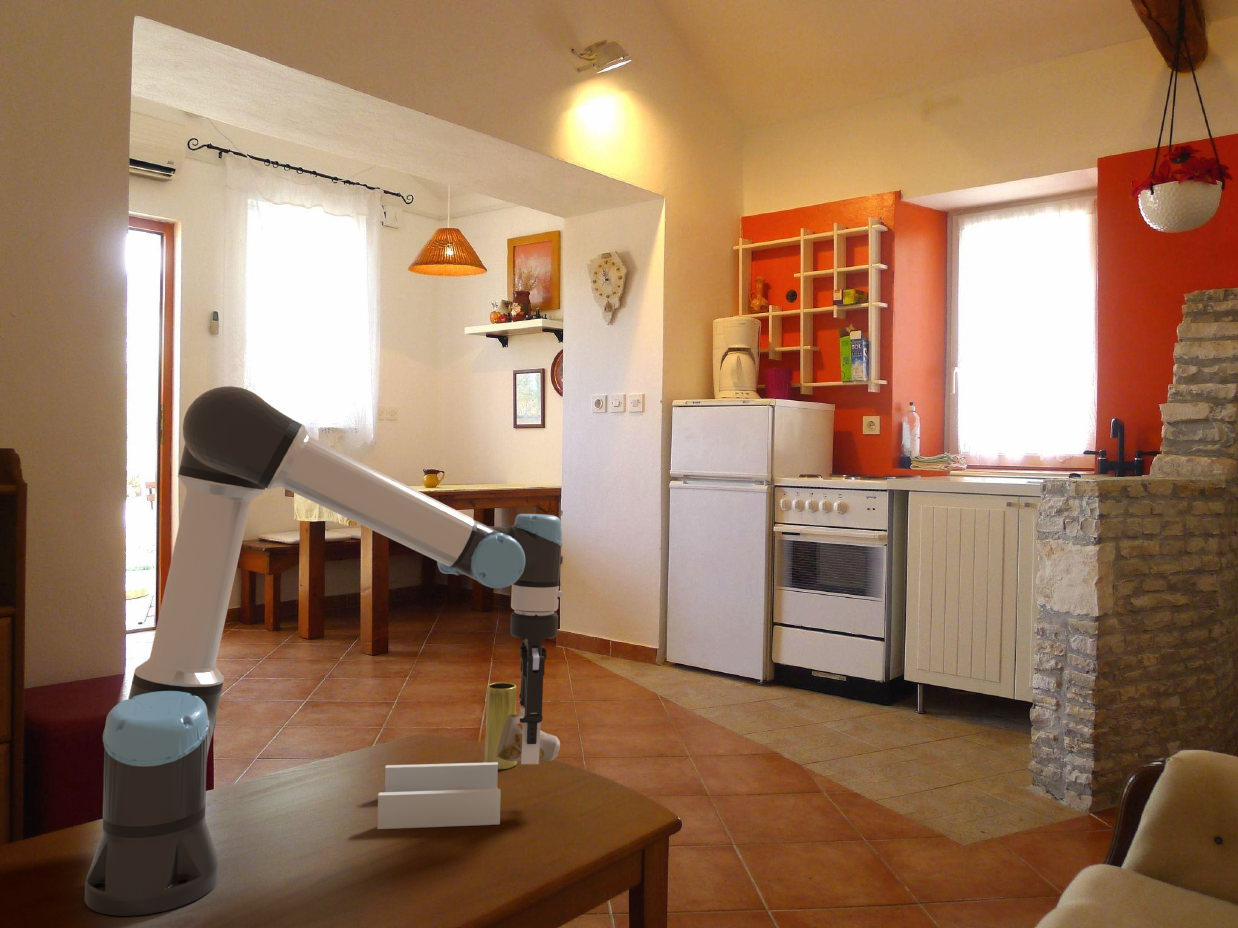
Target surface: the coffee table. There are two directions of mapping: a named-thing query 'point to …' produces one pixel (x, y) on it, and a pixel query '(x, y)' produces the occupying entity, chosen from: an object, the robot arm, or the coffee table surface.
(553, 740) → the mug
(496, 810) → the channel
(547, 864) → the coffee table surface
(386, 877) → the coffee table surface
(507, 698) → the vase
